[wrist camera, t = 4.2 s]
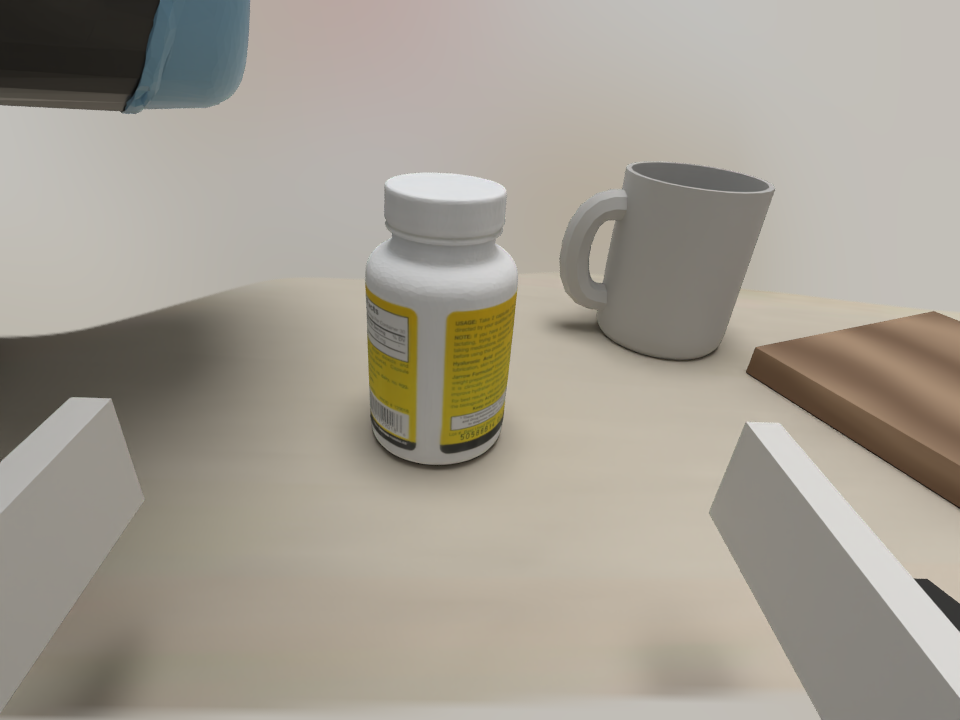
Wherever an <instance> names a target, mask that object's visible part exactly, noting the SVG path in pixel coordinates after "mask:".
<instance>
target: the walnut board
mask: <svg viewBox="0 0 960 720" xmlns="http://www.w3.org/2000/svg"><path fill="white" fill-rule="evenodd" d="M746 372H747V373H748V374H750V375H751V376H753V377H755V378H756V379H758V380H759V381H761V382H762V383H764V384H766V385H767V386H769V387H770V388H772V389H774V390H775V391H777V392H778V393H780V394H781V395H783V396H785V397H786V398H788V399H789V400H791V401H792V402H794V403H796V404H797V405H799V406H800V407H802V408H803V409H805V410H807V411H808V412H810V413H811V414H813V415H815V416H816V417H818V418H819V419H821V420H822V421H824V422H826V423H827V424H829V425H830V426H832V427H833V428H835V429H837V430H838V431H840V432H841V433H843V434H844V435H846V436H848V437H849V438H851V439H852V440H854V441H855V442H857V443H859V444H860V445H862V446H863V447H865V448H867V449H868V450H870V451H871V452H873V453H874V454H876V455H878V456H879V457H881V458H882V459H884V460H885V461H887V462H889V463H890V464H892V465H893V466H895V467H896V468H898V469H900V470H901V471H903V472H904V473H906V474H908V475H909V476H911V477H912V478H914V479H915V480H917V481H919V482H920V483H922V484H923V485H925V486H926V487H928V488H930V489H931V490H933V491H934V492H936V493H937V494H939V495H941V496H942V497H944V498H945V499H947V500H949V501H950V502H952V503H953V504H955V505H956V506H958V507H960V321H957V320H955V319H952V318H950V317H947V316H945V315H942V314H940V313H937V312H934V311H933V312H928V313H923V314H918V315H913V316H908V317H903V318H898V319H893V320H889V321H884V322H879V323H874V324H869V325H864V326H859V327H854V328H849V329H844V330H839V331H834V332H829V333H824V334H819V335H814V336H809V337H804V338H799V339H794V340H789V341H784V342H779V343H774V344H769V345H764V346H759V347H756V348H755V350H754V353H753V355H752V358H751V360H750V363H749V366H748V368H747V371H746Z"/></svg>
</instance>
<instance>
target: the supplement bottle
mask: <svg viewBox="0 0 960 720" xmlns="http://www.w3.org/2000/svg"><path fill="white" fill-rule="evenodd" d="M506 198H507V193H506V189H505V188H504V187H503V186H502V185H500V184H498V183H496V182H494V181H490V180H487V179H483V178H479V177H473V176H467V175H459V174H450V173H411V174H404V175H399V176H395V177H392V178H390V179H388V180H387V181H386V183H385V204H384V216H385V219H386V222H385V225H386V227H387V229H388V230H389V231H390V232H391V233H392V238H390V239H388V240H386V241H384V242H382V243H381V244H380V245H378V246H377V248H375V249H374V250H373V252H372V253H371V255H370V256H369V258H368V261H367V265H366V274H365V285H366V308H367V337H368V364H369V389H370V410H371V423H372V428H373V432H374V434H375V436H376V438H377V440H378V441H379V442H380V443H381V445H382V446H384V447H385V448H386V449H387V450H388V451H389V452H391V453H392V454H394V455H396V456H398V457H400V458H403V459H405V460H408V461H412V462H416V463H421V464H429V465H446V464H454V463H459V462H463V461H467V460H470V459H472V458H475V457H477V456H479V455H481V454H482V453H484V452H485V451H487V450H488V449H489V448H490V447H491V446H492V445H493V444H494V443H495V441H496V440H497V438H498V436H499V434H500V431H501V427H502V422H503V414H504V405H505V396H506V388H507V380H508V371H509V362H510V353H511V344H512V335H513V326H514V316H515V306H516V296H517V285H518V272H517V267H516V265H515V262H514V260H513V259H512V257H511V256H510V254H509V253H508V252H507V251H506V250H504V249H503V248H502V247H500V246H499V245H497V244H495V239H496V238H498V237H499V236H500V235H501V234H502V232H503V226H504V224H505V212H506Z"/></svg>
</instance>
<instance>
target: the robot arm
mask: <svg viewBox="0 0 960 720" xmlns="http://www.w3.org/2000/svg"><path fill="white" fill-rule="evenodd" d="M249 17H250V0H0V105H8V106H28V107H48V108H68V109H87V110H108V111H120V112H121V113H125V114H130V113H131V114H136V113H139V112H141V111H142V110H143V109H168V108H169V109H171V108H207V107H211V106H214V105H217V104H219V103H220V102H222V101H225V100H226V99H228V98H229V97H230V96H232V94H234V92H235V91H236V90H237V88H238V87H239V85H240V82H241V80H242V77H243V73H244V69H245V64H246V57H247V48H248V36H249ZM144 500H145V499H144V496H143V493H142V490H141V487H140V484H139V481H138V477H137V474H136V471H135V468H134V465H133V462H132V459H131V456H130V453H129V450H128V447H127V444H126V441H125V438H124V435H123V432H122V429H121V426H120V423H119V420H118V417H117V414H116V411H115V408H114V405H113V402H112V399H111V398H84V397H70V398H69V399H68V400H67V401H66V402H65V403H64V404H63V405H61V406H60V407H59V408H58V409H57V410H56V411H55V412H54V413H53V414H52V415H51V416H50V417H49V418H47V419H46V420H45V421H44V422H43V423H42V424H41V425H40V426H39V427H38V428H37V429H36V430H34V431H33V432H32V433H31V434H30V435H29V436H28V437H27V438H26V439H25V440H24V441H23V442H21V443H20V444H19V445H18V446H17V447H16V448H15V449H14V450H13V451H12V452H11V453H10V454H8V455H7V456H6V457H5V458H4V459H3V460H2V461H1V462H0V713H1V712H2V710H3V709H4V707H5V706H6V704H7V703H8V701H9V700H10V698H11V697H12V695H13V694H14V693H15V691H16V690H17V688H18V687H19V685H20V684H21V682H22V681H23V679H24V678H25V676H26V675H27V673H28V672H29V670H30V669H31V667H32V666H33V664H34V663H35V661H36V660H37V658H38V657H39V656H40V654H41V653H42V651H43V650H44V648H45V647H46V645H47V644H48V642H49V641H50V639H51V638H52V636H53V635H54V633H55V632H56V630H57V629H58V627H59V626H60V624H61V623H62V622H63V620H64V619H65V617H66V616H67V614H68V613H69V611H70V610H71V608H72V607H73V605H74V604H75V602H76V601H77V599H78V598H79V596H80V595H81V593H82V592H83V590H84V589H85V587H86V586H87V585H88V583H89V582H90V580H91V579H92V577H93V576H94V574H95V573H96V571H97V570H98V568H99V567H100V565H101V564H102V562H103V561H104V559H105V558H106V556H107V555H108V553H109V552H110V551H111V549H112V548H113V546H114V545H115V543H116V542H117V540H118V539H119V537H120V536H121V534H122V533H123V531H124V530H125V528H126V527H127V525H128V524H129V522H130V521H131V519H132V518H133V516H134V515H135V514H136V512H137V511H138V509H139V508H140V506H141V505H142V503H143V502H144ZM709 514H710V516H711V518H712V520H713V521H714V523H715V525H716V527H717V529H718V531H719V532H720V534H721V536H722V538H723V540H724V542H725V543H726V545H727V547H728V549H729V551H730V553H731V554H732V556H733V558H734V560H735V562H736V564H737V565H738V567H739V569H740V571H741V573H742V575H743V576H744V578H745V580H746V582H747V584H748V586H749V588H750V589H751V591H752V593H753V595H754V597H755V599H756V600H757V602H758V604H759V606H760V608H761V610H762V611H763V613H764V615H765V617H766V619H767V621H768V622H769V624H770V626H771V628H772V630H773V632H774V633H775V635H776V637H777V639H778V641H779V643H780V644H781V646H782V648H783V650H784V652H785V654H786V655H787V657H788V659H789V661H790V663H791V665H792V666H793V668H794V670H795V672H796V674H797V676H798V677H799V679H800V681H801V683H802V685H803V687H804V688H805V690H806V692H807V694H808V696H809V698H810V699H811V701H812V703H813V705H814V707H815V708H816V711H817V712H818V714H819V716H820V718H821V720H960V604H959V603H958V602H957V601H955V600H954V599H953V598H952V597H950V596H949V595H948V594H946V593H945V592H944V591H942V590H941V589H940V588H938V587H937V586H936V585H934V584H933V583H932V582H931V581H929V580H928V579H913V577H912V576H911V575H910V574H909V573H908V572H907V570H906V569H905V568H904V567H903V566H902V565H901V564H900V562H899V561H898V560H897V559H896V558H895V557H894V555H893V554H892V553H891V552H890V551H889V550H888V548H887V547H886V546H885V545H884V544H883V543H882V541H881V540H880V539H879V538H878V537H877V536H876V534H875V533H874V532H873V531H872V530H871V529H870V527H869V526H868V525H867V524H866V523H865V522H864V521H863V519H862V518H861V517H860V516H859V515H858V514H857V512H856V511H855V510H854V509H853V508H852V507H851V505H850V504H849V503H848V502H847V501H846V500H845V498H844V497H843V496H842V495H841V494H840V493H839V491H838V490H837V489H836V488H835V487H834V486H833V484H832V483H831V482H830V481H829V480H828V479H827V477H826V476H825V475H824V474H823V473H822V472H821V471H820V469H819V468H818V467H817V466H816V465H815V464H814V462H813V461H812V460H811V459H810V458H809V457H808V455H807V454H806V453H805V452H804V451H803V450H802V448H801V447H800V446H799V445H798V444H797V443H796V441H795V440H794V439H793V438H792V437H791V436H790V434H789V433H788V432H787V431H786V430H785V429H784V428H783V426H782V425H781V424H780V423H766V422H746V423H745V425H744V428H743V430H742V433H741V435H740V438H739V440H738V442H737V445H736V447H735V450H734V452H733V455H732V457H731V460H730V462H729V464H728V467H727V469H726V472H725V474H724V477H723V479H722V482H721V484H720V486H719V489H718V491H717V494H716V496H715V499H714V501H713V504H712V506H711V508H710V511H709Z"/></svg>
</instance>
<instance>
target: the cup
mask: <svg viewBox="0 0 960 720" xmlns="http://www.w3.org/2000/svg"><path fill="white" fill-rule="evenodd" d="M774 191H775V187H774V185H772V184H771V183H769V182H768V181H765V180H763V179H760V178H757V177H754V176H751V175H747V174H744V173H739V172H735V171H731V170H726V169H720V168H715V167H709V166H702V165H695V164H686V163H676V162H659V161H656V162H654V161H653V162H651V161H648V162H647V161H646V162H635V163H631V164H628V166H627V167H626V171H625V177H624V183H623V188H622V189H611V190H607V191H604V192H600V193H597V194H595V195H594V196H592V197H591V198H590V199H588V200H587V201H586V202H584V203H583V204H582V205H580V207H579V208H578V210H577V211H576V213H575V214H574V216H573V217H572V219H571V220H570V222H569V224H568V227H567V230H566V232H565V235H564V238H563V240H562V248H561V253H560V277H561V280H562V283H563V286H564V289H565V292H566V293H567V294H568V295H569V296H570V297H571V298H572V299H573V300H574V302H575V303H577V304H579V305H582V306H584V307H586V308H589V309H595V310H597V321H598V324H599V326H600V328H601V330H602V331H603V332H604V334H605V335H606V336H607V337H609V338H610V339H611V340H613V341H614V342H615V343H617V344H619V345H621V346H623V347H625V348H627V349H629V350H632V351H635V352H638V353H640V354H644V355H648V356H652V357H656V358H663V359H671V360H690V359H696V358H701V357H703V356H705V355H707V354H709V353H711V352H712V351H714V350H715V349H716V348H717V347H718V346H719V344H720V343H721V341H722V338H723V336H724V334H725V332H726V329H727V326H728V323H729V320H730V317H731V314H732V311H733V309H734V306H735V303H736V300H737V297H738V294H739V291H740V288H741V285H742V282H743V280H744V277H745V274H746V271H747V268H748V265H749V263H750V259H751V257H752V254H753V251H754V248H755V245H756V243H757V240H758V237H759V234H760V231H761V228H762V225H763V222H764V220H765V217H766V214H767V211H768V208H769V205H770V202H771V199H772V196H773V194H774ZM608 220H616V221H615V225H614V229H613V234H612V238H611V243H610V248H609V253H608V259H607V263H606V268H605V274H604V280H603V283H596V282H594V281H593V280H592V279H591V277H590V272H589V254H590V249H591V244H592V242H593V239H594V236H595V234H596V232H597V230H598V229H599V227H600V226H601V225H602V224H603V223H604V222H605V221H608Z"/></svg>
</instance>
